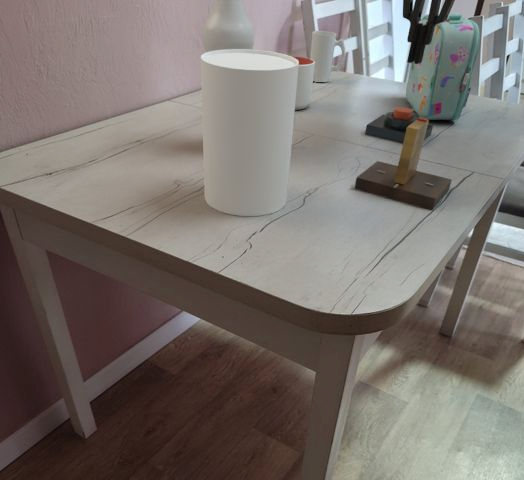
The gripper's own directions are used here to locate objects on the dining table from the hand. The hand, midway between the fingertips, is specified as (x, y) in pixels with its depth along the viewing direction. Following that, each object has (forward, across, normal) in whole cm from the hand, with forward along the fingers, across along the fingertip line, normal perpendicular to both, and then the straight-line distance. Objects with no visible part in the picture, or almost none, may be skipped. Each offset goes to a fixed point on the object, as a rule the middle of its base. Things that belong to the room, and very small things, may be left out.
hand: (414, 62), depth 100 cm
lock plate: (+14, -11, +29) cm, 34 cm away
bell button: (+11, 0, 0) cm, 11 cm away
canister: (+15, +9, +49) cm, 52 cm away
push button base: (+14, 0, 0) cm, 14 cm away
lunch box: (+15, 0, -24) cm, 28 cm away
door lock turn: (+12, -11, +29) cm, 33 cm away
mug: (+15, +35, -34) cm, 51 cm away
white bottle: (+15, +25, +31) cm, 42 cm away
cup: (+15, +30, -4) cm, 34 cm away
